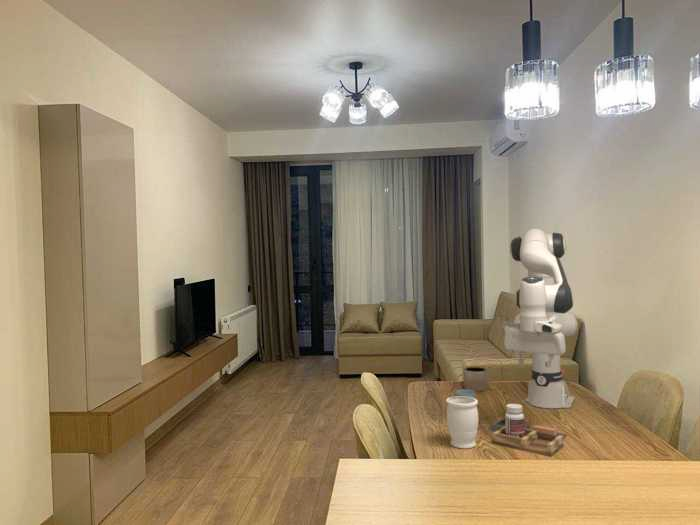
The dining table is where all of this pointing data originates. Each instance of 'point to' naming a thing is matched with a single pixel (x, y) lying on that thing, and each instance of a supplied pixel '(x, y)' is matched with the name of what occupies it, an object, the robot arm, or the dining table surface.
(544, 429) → the pink rectangular block
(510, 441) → the rack
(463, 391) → the cup
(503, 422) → the socket collar
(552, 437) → the grey metal lipped plate
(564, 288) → the robot arm
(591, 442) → the dining table surface
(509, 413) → the pill bottle
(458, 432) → the jar
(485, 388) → the planter
